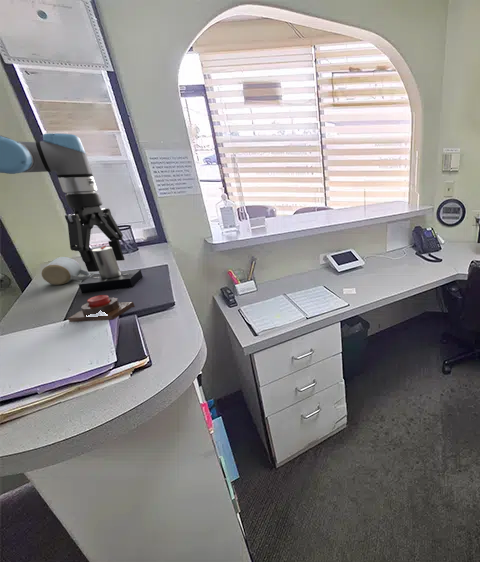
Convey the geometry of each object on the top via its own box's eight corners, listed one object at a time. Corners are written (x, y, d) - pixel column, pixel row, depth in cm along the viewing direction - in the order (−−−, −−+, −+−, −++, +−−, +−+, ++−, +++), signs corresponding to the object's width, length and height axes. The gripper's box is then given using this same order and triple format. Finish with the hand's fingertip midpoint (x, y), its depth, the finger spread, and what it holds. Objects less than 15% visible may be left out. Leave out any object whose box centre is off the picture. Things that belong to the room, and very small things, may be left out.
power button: (85, 308, 75) (82, 301, 74) (97, 301, 79) (95, 295, 78) (102, 307, 75) (100, 300, 75) (114, 300, 79) (112, 294, 78)
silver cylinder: (117, 277, 97) (107, 248, 94) (98, 279, 96) (87, 250, 92) (123, 272, 102) (114, 245, 98) (105, 274, 100) (95, 246, 97)
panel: (81, 293, 93) (78, 284, 92) (97, 282, 102) (93, 273, 101) (132, 287, 97) (129, 278, 96) (143, 277, 106) (140, 268, 105)
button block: (71, 326, 74) (64, 311, 73) (96, 311, 82) (91, 297, 80) (114, 323, 75) (109, 309, 73) (135, 309, 82) (131, 295, 81)
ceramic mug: (44, 287, 98) (34, 264, 96) (56, 279, 105) (48, 258, 103) (86, 282, 102) (78, 260, 100) (95, 275, 109) (88, 254, 107)
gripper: (61, 196, 79) (91, 277, 87) (122, 189, 100) (142, 254, 108) (29, 197, 78) (63, 278, 86) (98, 189, 100) (120, 255, 108)
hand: (107, 265), depth 97 cm, fingers open, 10 cm apart
